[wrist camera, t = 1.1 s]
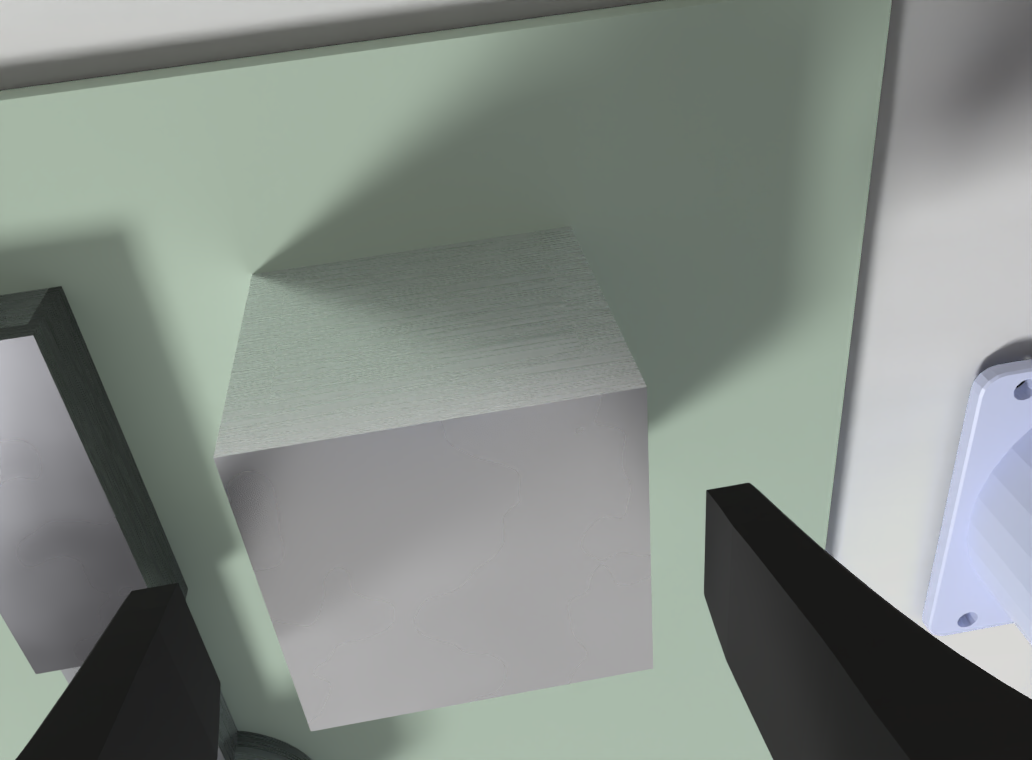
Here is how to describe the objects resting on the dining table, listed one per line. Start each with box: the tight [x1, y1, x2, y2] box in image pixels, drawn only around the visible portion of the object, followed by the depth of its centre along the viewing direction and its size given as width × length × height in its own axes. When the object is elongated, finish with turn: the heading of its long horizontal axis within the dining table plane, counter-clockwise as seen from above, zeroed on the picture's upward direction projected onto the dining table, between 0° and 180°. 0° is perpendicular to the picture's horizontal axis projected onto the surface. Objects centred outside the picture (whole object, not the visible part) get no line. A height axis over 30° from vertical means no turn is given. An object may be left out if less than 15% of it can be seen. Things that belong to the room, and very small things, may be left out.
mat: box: [0, 0, 892, 760], centre depth 20 cm, size 26×22×1 cm
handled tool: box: [0, 286, 312, 760], centre depth 18 cm, size 5×17×4 cm, turn 5°
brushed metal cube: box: [213, 226, 653, 731], centre depth 15 cm, size 5×5×5 cm
